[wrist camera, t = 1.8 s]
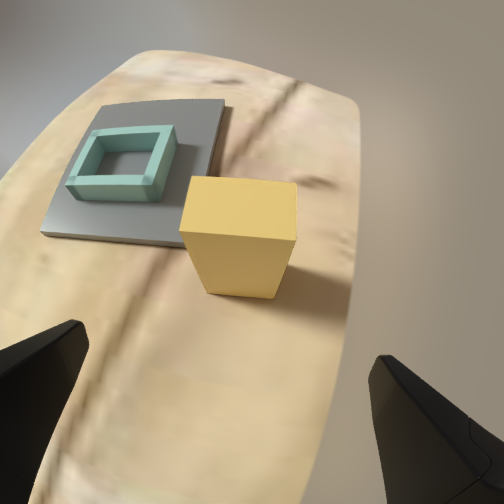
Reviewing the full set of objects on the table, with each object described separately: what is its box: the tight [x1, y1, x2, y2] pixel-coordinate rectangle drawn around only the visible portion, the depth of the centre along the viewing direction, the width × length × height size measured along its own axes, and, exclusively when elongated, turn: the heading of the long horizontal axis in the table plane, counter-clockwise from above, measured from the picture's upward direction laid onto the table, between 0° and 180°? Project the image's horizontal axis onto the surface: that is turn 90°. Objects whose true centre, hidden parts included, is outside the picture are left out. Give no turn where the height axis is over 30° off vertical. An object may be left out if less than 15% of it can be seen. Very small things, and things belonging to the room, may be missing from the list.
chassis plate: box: [40, 99, 225, 248], centre depth 25 cm, size 18×16×4 cm
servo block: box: [179, 176, 297, 299], centre depth 17 cm, size 3×5×10 cm, turn 85°
